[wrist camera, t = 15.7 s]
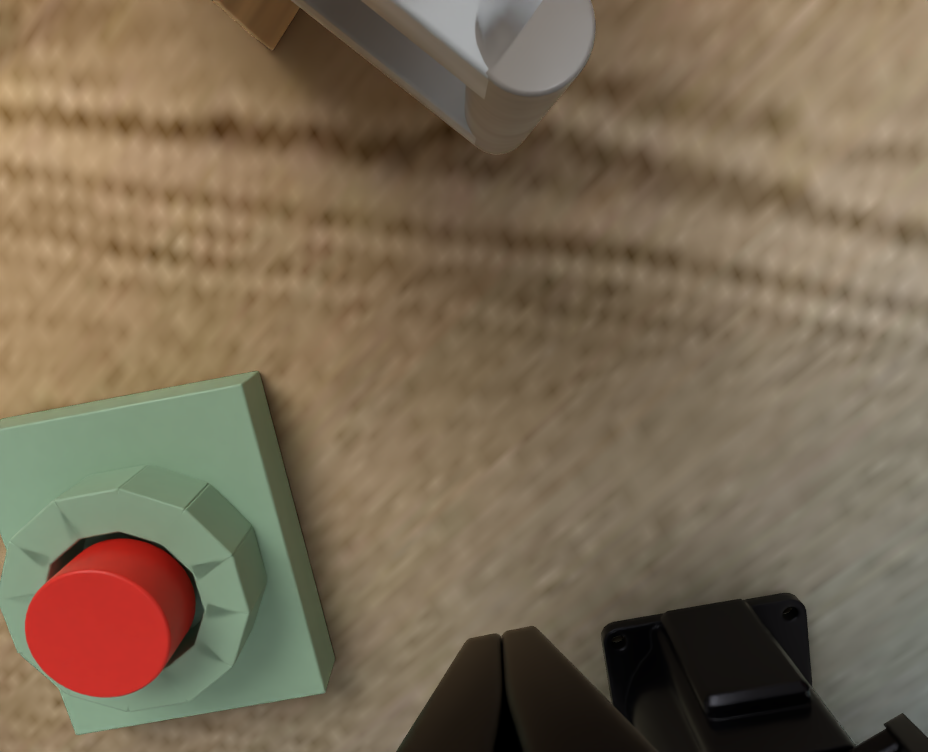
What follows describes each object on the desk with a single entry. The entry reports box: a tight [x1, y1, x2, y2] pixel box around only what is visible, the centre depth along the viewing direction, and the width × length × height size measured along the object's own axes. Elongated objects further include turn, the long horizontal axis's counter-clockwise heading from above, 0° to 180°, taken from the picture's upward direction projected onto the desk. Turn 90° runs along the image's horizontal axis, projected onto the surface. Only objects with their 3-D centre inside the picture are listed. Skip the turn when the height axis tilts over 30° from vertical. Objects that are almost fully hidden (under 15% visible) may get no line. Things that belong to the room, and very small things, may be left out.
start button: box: [25, 538, 196, 698], centre depth 17 cm, size 4×4×2 cm
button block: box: [0, 371, 335, 735], centre depth 20 cm, size 10×8×4 cm
